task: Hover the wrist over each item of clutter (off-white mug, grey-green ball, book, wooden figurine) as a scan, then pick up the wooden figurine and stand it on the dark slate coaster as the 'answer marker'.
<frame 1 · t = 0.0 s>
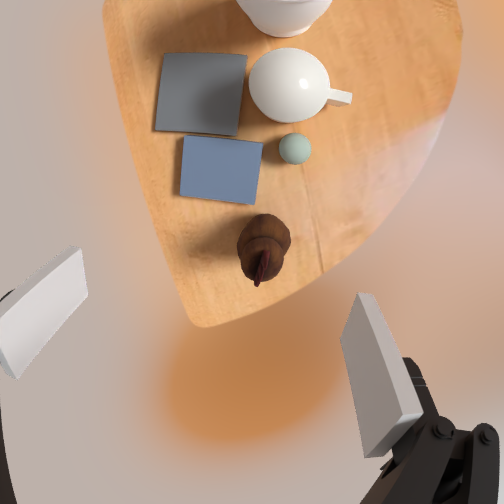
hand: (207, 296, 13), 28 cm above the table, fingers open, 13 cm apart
ball: (294, 147, 36), on the table
wooden figurine: (264, 229, 41), on the table
mug: (286, 93, 33), on the table
coaster: (200, 92, 34), on the table
book: (222, 166, 38), on the table
jar: (281, 13, 28), on the table
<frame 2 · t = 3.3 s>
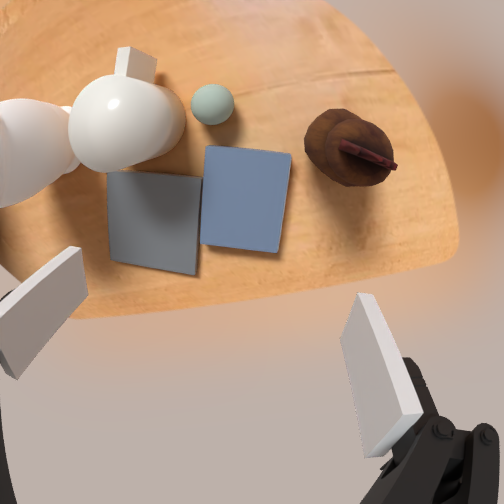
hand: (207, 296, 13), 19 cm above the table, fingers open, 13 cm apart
ball: (216, 105, 26), on the table
wooden figurine: (333, 144, 27), on the table
mug: (149, 121, 27), on the table
coaster: (152, 220, 32), on the table
book: (244, 195, 30), on the table
jar: (65, 139, 28), on the table
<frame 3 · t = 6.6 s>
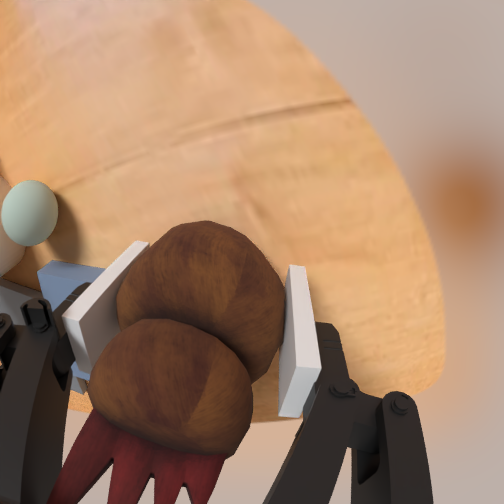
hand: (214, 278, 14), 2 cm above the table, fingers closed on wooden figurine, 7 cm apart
ball: (48, 203, 16), on the table
wooden figurine: (221, 260, 16), on the table, touching gripper
coaster: (31, 332, 21), on the table
book: (110, 323, 20), on the table
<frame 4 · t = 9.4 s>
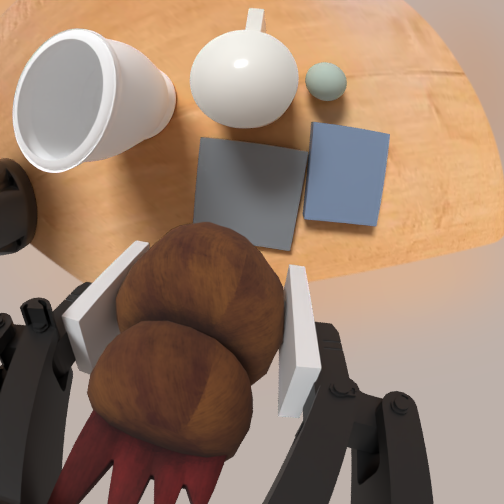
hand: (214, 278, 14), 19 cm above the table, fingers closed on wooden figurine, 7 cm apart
ball: (322, 84, 26), on the table
wooden figurine: (221, 261, 16), point 16 cm above the table, touching gripper
mug: (252, 91, 27), on the table
coaster: (247, 193, 31), on the table
book: (342, 172, 30), on the table
jar: (142, 103, 28), on the table
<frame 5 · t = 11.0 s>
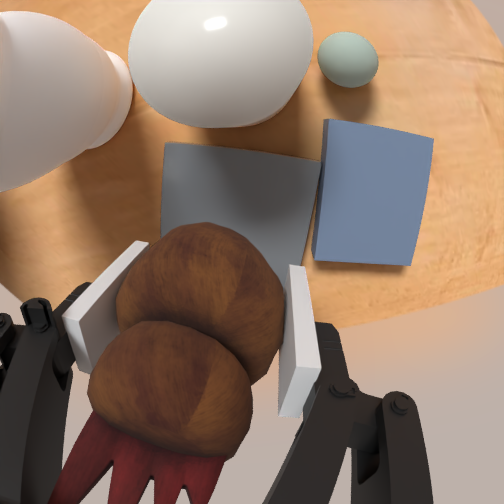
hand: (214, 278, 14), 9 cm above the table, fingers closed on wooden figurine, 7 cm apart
ball: (341, 65, 17), on the table
wooden figurine: (221, 261, 16), point 7 cm above the table, touching gripper
mug: (239, 73, 18), on the table
coaster: (234, 220, 22), on the table
book: (367, 190, 21), on the table
jar: (92, 99, 19), on the table
when the fingers open (4 cm above the table, at t = 12.4 s): wooden figurine stays where it is, resting on coaster.
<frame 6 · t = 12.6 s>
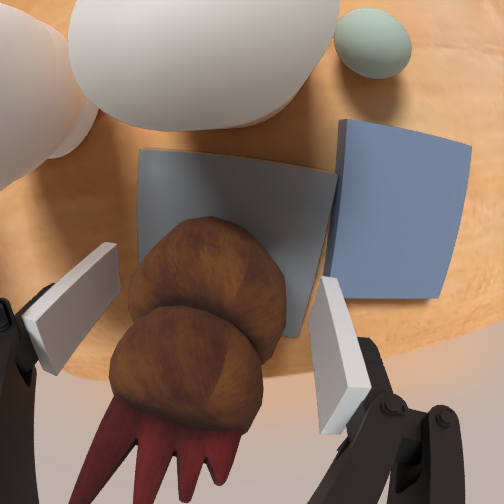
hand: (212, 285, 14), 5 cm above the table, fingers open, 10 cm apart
ball: (362, 51, 13), on the table
wooden figurine: (223, 254, 17), point 1 cm above the table, touching coaster
mug: (232, 60, 14), on the table
coaster: (226, 246, 18), on the table
book: (390, 209, 17), on the table
jar: (59, 98, 15), on the table
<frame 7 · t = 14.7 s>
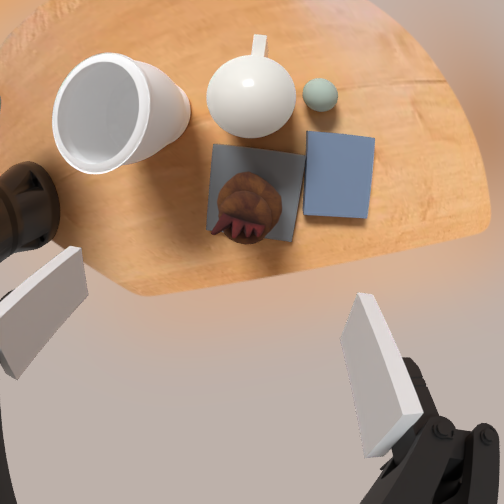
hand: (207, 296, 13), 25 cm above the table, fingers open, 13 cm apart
ball: (317, 96, 31), on the table
wooden figurine: (253, 194, 35), point 1 cm above the table, touching coaster
mug: (257, 103, 32), on the table
coaster: (254, 191, 36), on the table
book: (335, 172, 35), on the table
jar: (160, 113, 33), on the table
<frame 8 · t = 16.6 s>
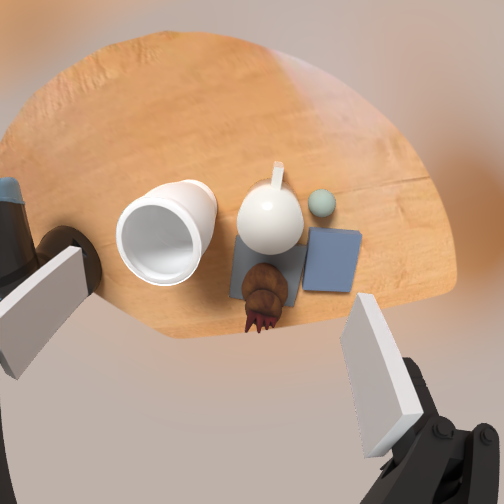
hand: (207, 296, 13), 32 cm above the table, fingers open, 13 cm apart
ball: (319, 199, 42), on the table
wooden figurine: (265, 274, 47), point 1 cm above the table, touching coaster
mug: (271, 204, 43), on the table
coaster: (266, 270, 48), on the table
book: (329, 256, 47), on the table
jar: (191, 205, 44), on the table
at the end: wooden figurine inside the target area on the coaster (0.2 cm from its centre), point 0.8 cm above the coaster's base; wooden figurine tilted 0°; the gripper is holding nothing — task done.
